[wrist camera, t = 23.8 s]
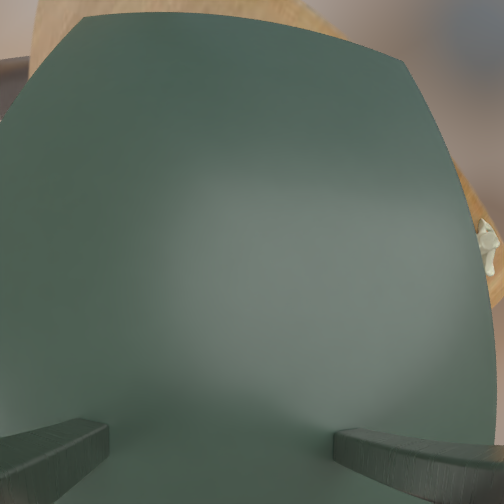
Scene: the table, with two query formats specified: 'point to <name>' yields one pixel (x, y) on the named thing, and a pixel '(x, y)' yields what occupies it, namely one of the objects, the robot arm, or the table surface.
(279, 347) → the bin lid
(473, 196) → the table surface
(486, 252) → the spine bone
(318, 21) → the table surface
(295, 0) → the table surface
